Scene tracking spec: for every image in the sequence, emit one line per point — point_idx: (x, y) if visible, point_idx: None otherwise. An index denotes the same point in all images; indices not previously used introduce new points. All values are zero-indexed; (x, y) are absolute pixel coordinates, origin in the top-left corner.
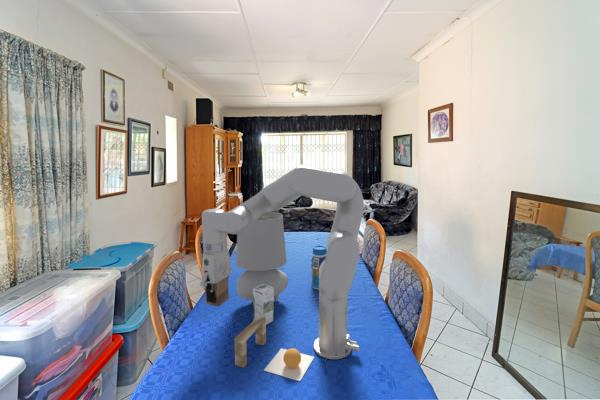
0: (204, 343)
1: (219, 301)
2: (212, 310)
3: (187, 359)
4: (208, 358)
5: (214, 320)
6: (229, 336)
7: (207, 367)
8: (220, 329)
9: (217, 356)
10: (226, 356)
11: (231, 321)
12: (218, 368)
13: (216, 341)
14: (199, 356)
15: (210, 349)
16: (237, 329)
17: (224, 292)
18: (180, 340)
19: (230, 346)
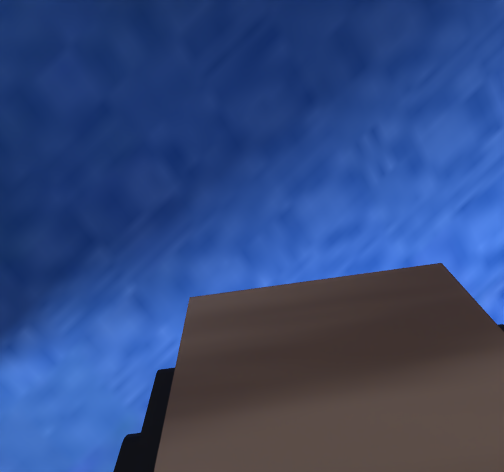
0: (316, 266)
1: (424, 297)
2: (51, 459)
3: (469, 234)
4: (416, 143)
5: (116, 382)
6: (184, 196)
7: (485, 84)
8: (162, 292)
9: (378, 110)
10: (354, 60)
11: (58, 300)
12: (469, 16)
13: (266, 224)
14: (422, 200)
15: (344, 197)
16: (97, 208)
17: (293, 376)
18: None
19: (261, 114)
